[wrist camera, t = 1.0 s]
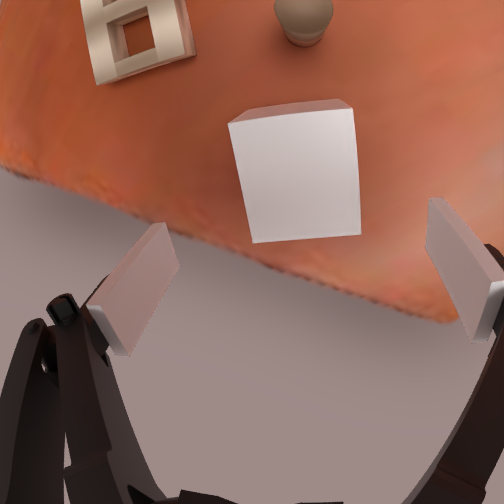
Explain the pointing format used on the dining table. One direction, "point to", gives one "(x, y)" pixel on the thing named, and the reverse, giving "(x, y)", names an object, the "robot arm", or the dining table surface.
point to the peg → (304, 19)
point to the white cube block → (298, 170)
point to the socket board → (114, 43)
